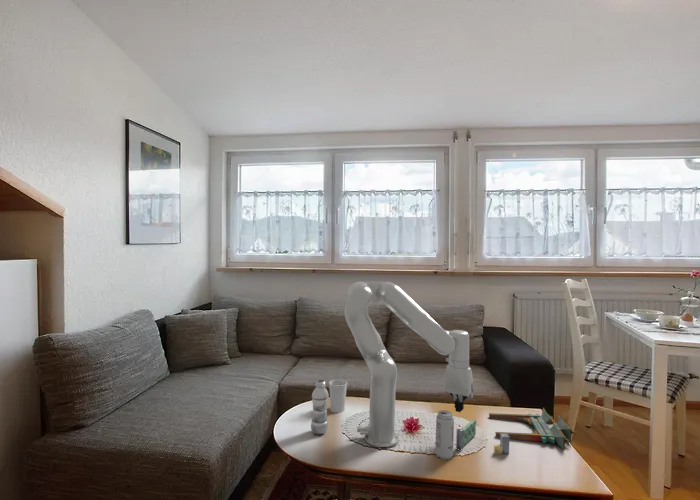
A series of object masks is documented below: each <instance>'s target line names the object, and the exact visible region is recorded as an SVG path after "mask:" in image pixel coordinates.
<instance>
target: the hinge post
mask: <svg viewBox="0 0 700 500" xmlns="http://www.w3.org/2000/svg"><path fill="white" fill-rule="evenodd" d="M462 429H463V428H457V429H456V437H455V438H456V439H455V440H456V442H455V443H456V444H455V445H456V446H455V449H456V448H457V449H459V450H461V449H462V450H463V447H464V446H463V430H462ZM462 446H463V447H462Z"/></svg>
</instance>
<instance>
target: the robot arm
mask: <svg viewBox="0 0 700 500" xmlns="http://www.w3.org/2000/svg"><path fill="white" fill-rule="evenodd" d="M347 296H348V297H347V300H346V301H345V306H344V318H345V322H346V323H347V326H348V328H349V329H350V332H351V334H352V336H353V338H354V342H355V345H356V346H357V348H358V350H359V352H360V354H361V356H362V358H363V359H364V362H365V363H366V366H367V367H368V369H369V371H370V388H369V412H368V413H369V421H368V422H369V423H368V425H367V426H366V425H365V426H357V428H356V429H357V430H356V431H357V433H359V434H360V435H361V436H362V435H364V441H365V442H366V443H367V444H368V445H370V446H373V447H375V446H376V448H380V447H387V448H391V447H390V446H392V447H394V446H395V444H396V443H397V442H398V443H399V435H398V434H397V433H395V428H396V427H395V425H396V423H395V422H396V421H395V418H396V417H395V416H396V389H397V388H396V387H397V380H398V369H397V365H396V363H395V361H394V360H393V358H392V357H391V356H390V354H389V353H388V350H387V348H386V347H385V344H384V343H383V340H382V337H381V335H380V333H379V332H378V331H377V329H376V327H375V325H374V323H373V322H372V319H371V318H370V315H369V310H368V309H369V306H370V304H380V303H381V304H384V305H385V306H386V307H387V308H388V309H389V310H390V311H391V312H392V313H393V314H395V316H397V318H399V320H401V321H402V322H403V323H404V324H405V325H406V326H407V327H408V328H409V329H411V330H412V331H414V332H415V333H416V334H417V335H418V336H420V337H421V339H423V340H424V341H426V342H427V344H428V345H429V346H430V347H431V348H432V349H433V350H434V351H436V352H437V353H438V354H440V355H442V356H448V357H446V358H445V362H447V363H448V364H447V365H446V369H445V375H444V383H443V385H444V386H443V387H444V391H445V393H447V394H448V395H449V396H451V397H452V400H453V401H454V408H455V412H457V413H461V412H462V411H464V408H465V406H464V405H465V404H464V402H465V401H466V400H467V399H470V400H471V399H473V398H474V393H473V392H474V379H473V378H474V377H473V372H472V368H471V367H470V333H468V331H465V330H463V329H461V330H460V329H453V330H446V329H444V328H443V327H442V326H441V325H440V324H438V322H436V321H435V320H434V319H433V317H431V316H430V314H428V312H426V310H424V309H423V308H422V307H421V306H420V305H419V304H418V303H417V302H416V301H414V299H413V298H411V296H409V295H408V294H407V293H406V292H405V291H404V290H403V289H402V288H401V287H400V286H398V285H397V284H395V283H393V282H391V281H357V282H353V283H351V284H350V286H349V287H348V290H347ZM398 443H397V444H398ZM397 444H396V445H397ZM393 445H394V446H393Z"/></svg>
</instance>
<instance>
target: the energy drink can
mask: <svg viewBox="0 0 700 500" xmlns="http://www.w3.org/2000/svg"><path fill="white" fill-rule="evenodd" d="M435 420H436V421H435V454H436V456H437V458H439V457H440V458H439V459H441V458H442V459H441V460H445V459H448V460H450V459H452V457H453V456H454V435H455V432H454V431H455V418H454V416H453V413H452V412H451V411H449V410H439V411H438V413H437V415H436V418H435Z"/></svg>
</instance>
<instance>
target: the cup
mask: <svg viewBox="0 0 700 500" xmlns="http://www.w3.org/2000/svg"><path fill="white" fill-rule="evenodd" d="M328 385H329V389H328V390H329V403H330V404H329V405H330V407H329V408H330V409H329V410H330V412H332V413H336V414H337V413H338V414H339V413H344V411H345V410H346V407H345V406H346V399H347V398H346V397H347V388H348V387H347V386H348V381H346V380H345V379H344V380H343V379H332V380H330V381H329V382H328Z"/></svg>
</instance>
